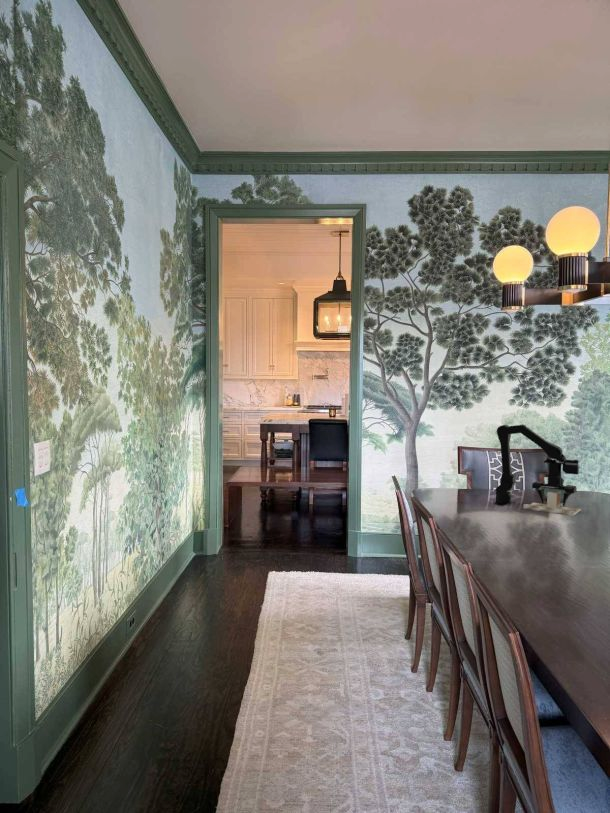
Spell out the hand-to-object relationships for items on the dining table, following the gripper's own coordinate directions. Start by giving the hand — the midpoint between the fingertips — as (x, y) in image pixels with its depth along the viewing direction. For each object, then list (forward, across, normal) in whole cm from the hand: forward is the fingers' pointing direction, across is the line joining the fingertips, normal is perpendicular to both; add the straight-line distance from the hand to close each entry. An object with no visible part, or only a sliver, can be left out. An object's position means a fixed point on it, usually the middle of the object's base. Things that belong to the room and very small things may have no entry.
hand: (553, 504), depth 261 cm
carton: (+2, 0, 0) cm, 2 cm away
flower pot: (+3, +4, -18) cm, 19 cm away
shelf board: (+3, 0, +2) cm, 3 cm away
